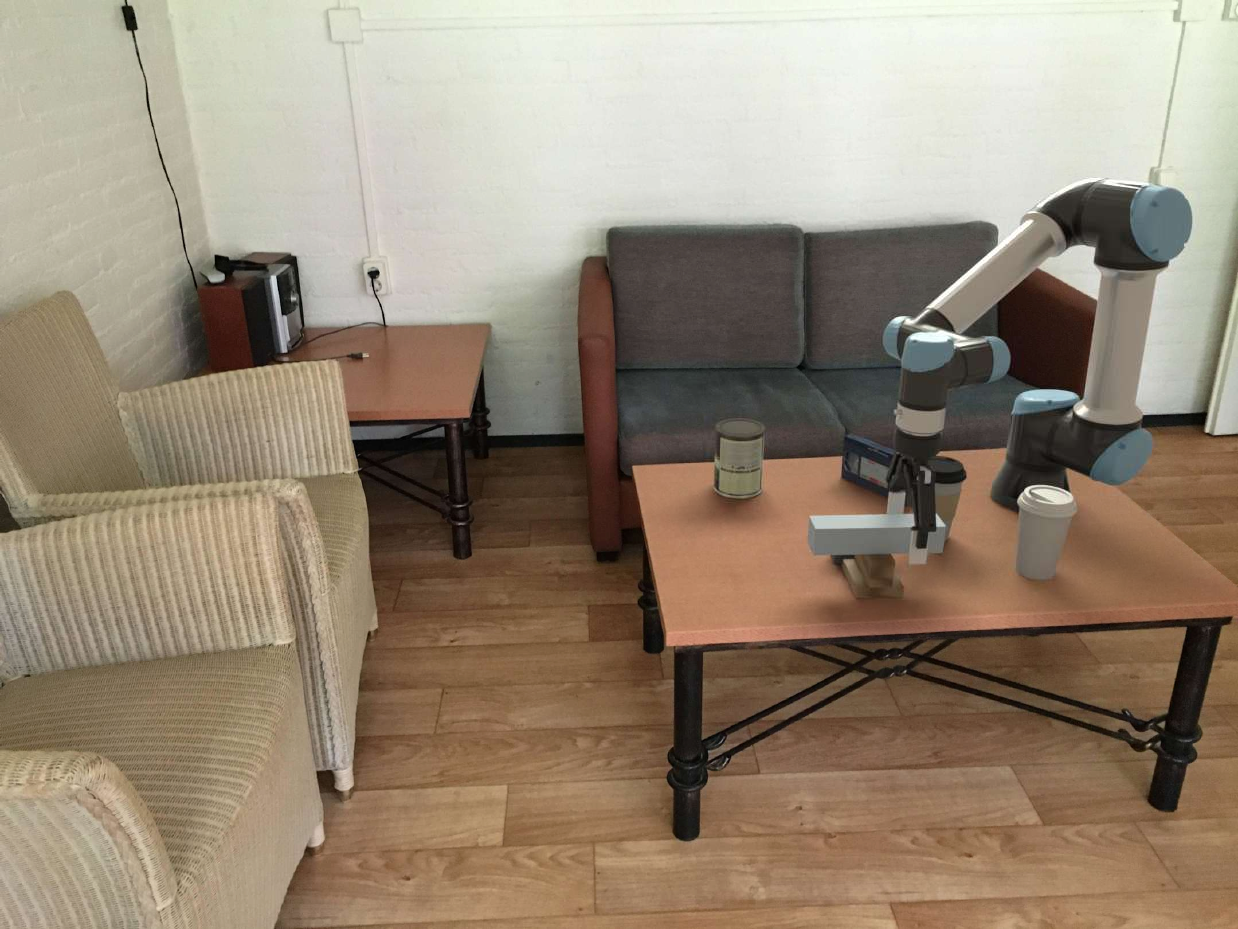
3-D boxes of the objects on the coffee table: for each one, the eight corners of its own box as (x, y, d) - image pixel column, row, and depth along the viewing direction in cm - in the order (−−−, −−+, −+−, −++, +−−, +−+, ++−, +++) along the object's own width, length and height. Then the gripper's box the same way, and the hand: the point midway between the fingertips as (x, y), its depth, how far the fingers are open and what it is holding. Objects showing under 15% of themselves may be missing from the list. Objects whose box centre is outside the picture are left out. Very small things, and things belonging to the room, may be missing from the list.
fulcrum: (886, 568, 175) (890, 533, 173) (902, 597, 166) (907, 560, 163) (842, 569, 175) (845, 534, 172) (855, 598, 166) (859, 561, 163)
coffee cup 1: (960, 530, 189) (971, 458, 183) (954, 551, 181) (964, 477, 175) (910, 521, 192) (919, 450, 186) (901, 541, 185) (910, 468, 179)
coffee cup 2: (997, 558, 178) (1009, 483, 172) (1048, 557, 179) (1062, 482, 173) (1020, 585, 169) (1034, 507, 163) (1074, 583, 170) (1089, 505, 164)
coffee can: (703, 485, 209) (705, 424, 203) (741, 475, 214) (744, 414, 208) (733, 503, 201) (735, 439, 195) (772, 491, 206) (775, 429, 200)
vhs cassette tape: (839, 477, 212) (843, 435, 208) (849, 474, 214) (853, 432, 210) (904, 508, 198) (910, 463, 194) (914, 504, 199) (920, 459, 196)
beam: (933, 539, 170) (936, 513, 168) (942, 552, 166) (946, 526, 164) (807, 541, 170) (809, 515, 168) (813, 555, 165) (815, 529, 163)
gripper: (875, 402, 171) (864, 512, 179) (919, 458, 148) (904, 580, 156) (918, 402, 171) (905, 511, 179) (968, 457, 148) (950, 579, 156)
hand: (904, 544), depth 168 cm, fingers open, 13 cm apart
